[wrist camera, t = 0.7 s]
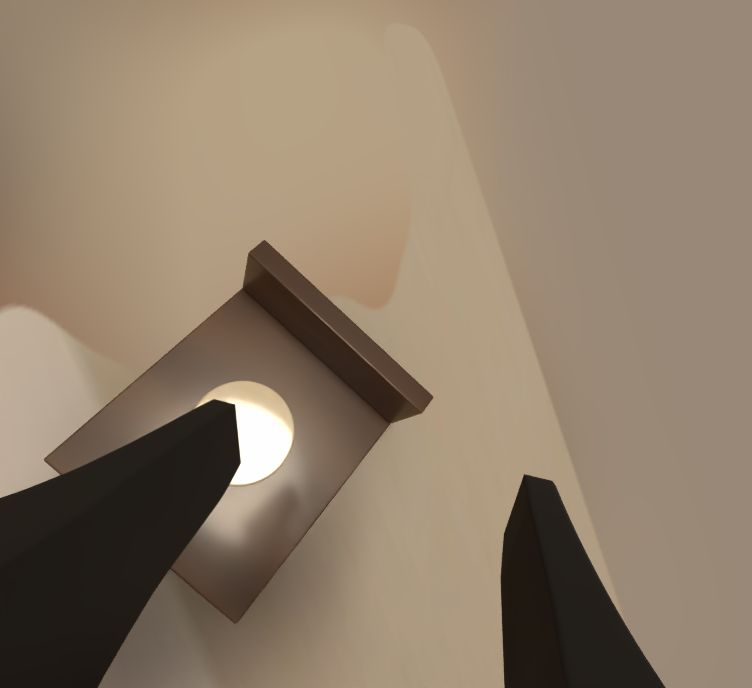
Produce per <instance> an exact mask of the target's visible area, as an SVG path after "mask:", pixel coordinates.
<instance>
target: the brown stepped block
mask: <svg viewBox="0 0 752 688" xmlns="http://www.w3.org/2000/svg"><path fill="white" fill-rule="evenodd" d="M233 381H252V382H257V383H260V384H263V385H265V386H268V387H269V388H271V389H273V390H274V391H275V392H276V393H278V394H279V395H280V396H281V397H282V398H283V399H284V401H285V402H286V404H287V405H288V407H289V409H290V411H291V414H292V416H293V420H294V427H295V435H294V442H293V446H292V449H291V451H290V454H289V456H288V457H287V459H286V461H285V462H284V464H283V465H282V466H281V467H280V468H279V469H278V470H277V471H276V472H275V473H274V474H273V475H271V476H270V477H268V478H267V479H265V480H263V481H261V482H259V483H256V484H253V485H249V486H241V487H234V486H228V488H227V490H226V491H225V493H224V495H223V497H222V498H221V500H220V501H219V503H218V504H217V505H216V507H215V508H214V510H213V511H212V512H211V514H210V515H209V516H208V518H207V519H206V521H205V522H204V523H203V525H202V526H201V527H200V529H199V530H198V532H197V533H196V534H195V536H194V537H193V538H192V540H191V541H190V542H189V544H188V545H187V546H186V548H185V549H184V550H183V552H182V553H181V555H180V556H179V557H178V559H177V560H176V561H175V563H174V564H173V565H172V567H171V568H170V569H171V570H172V571H174V572H175V573H176V574H177V575H178V576H179V577H181V578H182V579H183V580H184V581H185V582H186V583H188V584H189V585H190V586H191V587H192V588H193V589H195V590H196V591H197V592H198V593H199V594H200V595H202V596H203V597H204V598H205V599H206V600H207V601H209V602H210V603H211V604H212V605H213V606H214V607H216V608H217V609H218V610H219V611H220V612H221V613H223V614H224V615H225V616H226V617H227V618H228V619H230V620H231V621H232V622H233V623H234V624H236V623H238V621H239V620H240V619H241V617H242V616H243V615H244V613H245V612H246V611H247V610H248V608H249V607H250V606H251V604H252V603H253V602H254V600H255V599H256V598H257V597H258V595H259V594H260V593H261V591H262V590H263V589H264V587H265V586H266V585H267V584H268V582H269V581H270V580H271V578H272V577H273V576H274V574H275V573H276V572H277V570H278V569H279V568H280V567H281V565H282V564H283V563H284V561H285V560H286V559H287V557H288V556H289V555H290V554H291V552H292V551H293V550H294V548H295V547H296V546H297V544H298V543H299V542H300V541H301V539H302V538H303V537H304V535H305V534H306V533H307V531H308V530H309V529H310V528H311V526H312V525H313V524H314V522H315V521H316V520H317V518H318V517H319V516H320V515H321V513H322V512H323V511H324V509H325V508H326V507H327V505H328V504H329V503H330V502H331V500H332V499H333V498H334V496H335V495H336V494H337V492H338V491H339V490H340V489H341V487H342V486H343V485H344V483H345V482H346V481H347V479H348V478H349V477H350V475H351V474H352V473H353V472H354V470H355V469H356V468H357V466H358V465H359V464H360V462H361V461H362V460H363V459H364V457H365V456H366V455H367V453H368V452H369V451H370V449H371V448H372V447H373V446H374V444H375V443H376V442H377V440H378V439H379V438H380V436H381V435H382V434H383V433H384V431H385V430H386V429H387V427H388V426H389V425H390V423H394V422H397V421H400V420H403V419H406V418H409V417H412V416H415V415H418V414H421V413H422V412H423V411H424V410H425V408H426V407H427V406H428V404H429V403H430V402H431V400H432V399H433V396H432V395H431V394H430V393H429V392H428V391H427V390H426V389H424V388H423V387H422V386H421V385H420V384H419V383H418V382H417V381H416V380H415V379H414V378H413V377H412V376H411V375H409V374H408V373H407V372H406V371H405V370H404V369H403V368H402V367H401V366H400V365H399V364H398V363H397V362H395V361H394V360H393V359H392V358H391V357H390V356H389V355H388V354H387V353H386V352H385V351H384V350H383V349H381V348H380V347H379V346H378V345H377V344H376V343H375V342H374V341H373V340H372V339H371V338H370V337H369V336H368V335H366V334H365V333H364V332H363V331H362V330H361V329H360V328H359V327H358V326H357V325H356V324H355V323H354V322H352V321H351V320H350V319H349V318H348V317H347V316H346V315H345V314H344V313H343V312H342V311H341V310H340V309H338V308H337V307H336V306H335V305H334V304H333V303H332V302H331V301H330V300H329V299H328V298H327V297H325V296H324V295H323V294H322V293H321V292H320V291H319V290H318V289H317V288H316V287H315V286H314V285H313V284H312V283H311V282H309V281H308V280H307V279H306V278H305V277H304V276H303V275H302V274H301V273H300V272H298V270H296V269H295V268H294V267H293V266H292V265H291V264H290V263H289V262H288V261H287V260H286V259H284V257H283V256H281V255H280V254H279V253H278V252H277V251H276V250H275V249H274V248H273V247H272V246H271V245H270V244H269V243H267V242H266V241H265V240H264V241H262V242H261V243H260V244H259V245H257V246H256V247H255V248H254V249H253V250H251V251H250V252H249V254H248V259H247V265H246V271H245V277H244V282H243V288H242V289H241V290H240V291H239V292H238V293H236V294H235V295H234V296H233V297H232V298H230V299H229V300H228V301H227V302H226V303H225V304H224V305H222V306H221V307H220V308H219V309H218V310H217V311H215V312H214V313H213V314H212V315H211V316H210V317H208V318H207V319H206V320H205V321H204V322H203V323H201V324H200V325H199V326H198V327H197V328H196V329H195V330H193V331H192V332H191V333H190V334H189V335H187V337H185V338H184V339H183V340H182V341H181V342H179V343H178V344H177V345H176V346H175V347H174V348H172V349H171V350H170V351H169V352H168V353H167V354H165V355H164V356H163V357H162V358H161V359H160V360H159V361H158V362H156V363H155V364H154V365H153V366H151V367H150V368H149V369H148V370H147V371H146V372H144V373H143V374H142V375H141V376H140V377H139V378H138V379H136V380H135V381H134V382H133V383H132V384H131V385H129V386H128V387H127V388H126V389H125V390H124V391H122V392H121V393H120V394H119V395H118V396H117V397H115V398H114V399H113V400H112V401H111V402H110V403H108V404H107V405H106V406H105V407H104V408H103V409H101V410H100V411H99V412H98V413H97V414H96V415H95V416H93V417H92V418H91V419H90V420H89V421H88V422H86V423H85V424H84V425H83V426H82V427H81V428H79V429H78V430H77V431H76V432H75V433H74V434H72V435H71V436H70V437H69V438H68V439H67V440H65V441H64V442H63V443H62V444H61V445H60V446H58V447H57V448H56V449H55V450H54V451H53V452H52V453H50V454H49V455H48V456H47V457H46V458H45V459H44V461H45V462H46V463H47V464H49V465H50V466H51V467H52V468H53V469H54V470H56V471H57V472H58V473H59V474H60V475H62V474H65V473H67V472H69V471H72V470H74V469H76V468H79V467H81V466H83V465H85V464H87V463H89V462H91V461H94V460H96V459H98V458H100V457H102V456H104V455H106V454H108V453H110V452H112V451H114V450H116V449H119V448H121V447H123V446H125V445H127V444H129V443H131V442H133V441H135V440H137V439H139V438H141V437H142V436H144V435H146V434H148V433H150V432H152V431H154V430H156V429H158V428H160V427H161V426H163V425H165V424H167V423H169V422H171V421H173V420H175V419H176V418H178V417H180V416H182V415H184V414H186V413H188V412H190V411H191V410H193V409H194V407H195V406H196V404H197V403H198V402H199V401H200V399H201V398H202V397H203V396H204V395H206V394H207V393H208V392H209V391H211V390H213V389H214V388H216V387H218V386H220V385H223V384H225V383H229V382H233Z"/></svg>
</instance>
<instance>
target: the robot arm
mask: <svg viewBox="0 0 752 688" xmlns="http://www.w3.org/2000/svg"><path fill="white" fill-rule="evenodd" d="M240 464H241V457H240V447H239V437H238V427H237V417H236V406H235V404H232V403H228V402H224V401H220V400H216V399H213V400H211V401H209V402H207V403H205V404H203V405H201V406H199V407H197V408H195V409H193V410H191V411H190V412H188V413H186V414H184V415H182V416H180V417H178V418H176V419H175V420H173V421H171V422H169V423H167V424H165V425H163V426H161V427H160V428H158V429H156V430H154V431H152V432H150V433H148V434H146V435H144V436H142V437H141V438H139V439H137V440H135V441H133V442H131V443H129V444H127V445H125V446H123V447H121V448H119V449H116V450H114V451H112V452H110V453H108V454H106V455H104V456H102V457H100V458H98V459H96V460H94V461H91V462H89V463H87V464H85V465H83V466H81V467H79V468H76V469H74V470H72V471H69V472H67V473H65V474H62V475H60V476H58V477H55V478H53V479H50V480H48V481H45V482H43V483H40V484H38V485H35V486H33V487H30V488H28V489H25V490H22V491H20V492H17V493H14V494H11V495H8V496H5V497H2V498H0V688H98V686H99V684H100V682H101V680H102V679H103V677H104V675H105V673H106V672H107V670H108V668H109V666H110V665H111V663H112V661H113V659H114V658H115V656H116V654H117V652H118V651H119V649H120V647H121V646H122V644H123V642H124V640H125V639H126V637H127V635H128V633H129V632H130V630H131V628H132V627H133V625H134V624H135V622H136V620H137V619H138V617H139V615H140V614H141V612H142V610H143V609H144V607H145V605H146V604H147V602H148V600H149V599H150V597H151V595H152V594H153V592H154V591H155V589H156V588H157V587H158V585H159V584H160V582H161V581H162V579H163V578H164V576H165V575H166V574H167V572H168V571H169V569H170V568H171V567H172V565H173V564H174V563H175V561H176V560H177V559H178V557H179V556H180V555H181V553H182V552H183V550H184V549H185V548H186V546H187V545H188V544H189V542H190V541H191V540H192V538H193V537H194V536H195V534H196V533H197V532H198V530H199V529H200V527H201V526H202V525H203V523H204V522H205V521H206V519H207V518H208V516H209V515H210V514H211V512H212V511H213V510H214V508H215V507H216V505H217V504H218V503H219V501H220V500H221V498H222V497H223V495H224V493H225V491H226V490H227V488H228V486H229V485H230V483H231V481H232V479H233V477H234V475H235V474H236V472H237V470H238V468H239V466H240ZM501 603H502V631H503V658H504V684H505V688H665V686H664V685H663V683H662V682H661V680H660V678H659V677H658V675H657V674H656V672H655V671H654V670H653V668H652V667H651V665H650V663H649V662H648V660H647V659H646V657H645V656H644V654H643V652H642V651H641V649H640V648H639V646H638V645H637V643H636V641H635V640H634V638H633V636H632V635H631V633H630V631H629V630H628V628H627V626H626V625H625V623H624V621H623V619H622V618H621V616H620V614H619V613H618V611H617V609H616V607H615V606H614V604H613V602H612V601H611V599H610V597H609V595H608V593H607V591H606V590H605V588H604V586H603V584H602V582H601V580H600V579H599V577H598V575H597V573H596V571H595V569H594V567H593V565H592V563H591V561H590V559H589V557H588V555H587V554H586V552H585V550H584V547H583V545H582V543H581V541H580V539H579V537H578V535H577V533H576V531H575V529H574V527H573V524H572V522H571V520H570V518H569V516H568V513H567V511H566V509H565V507H564V504H563V502H562V500H561V497H560V495H559V493H558V490H557V488H556V486H555V484H554V483H553V481H550V480H546V479H541V478H537V477H533V476H529V475H525V474H524V476H523V479H522V482H521V485H520V488H519V491H518V494H517V497H516V500H515V503H514V506H513V509H512V512H511V515H510V518H509V521H508V524H507V527H506V529H505V532H504V541H503V553H502V567H501Z"/></svg>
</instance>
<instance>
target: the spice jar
mask: <svg viewBox="0 0 752 688" xmlns="http://www.w3.org/2000/svg"><path fill="white" fill-rule="evenodd" d="M213 399H216V400H220V401H224V402H228V403H232V404H235V406H236V417H237V427H238V437H239V447H240V457H241V464H240V466H239V468H238V470H237V472H236V474H235V475H234V477H233V479H232V481H231V483H230V485H229V486H234V487H241V486H249V485H253V484H256V483H259V482H261V481H263V480H265V479H267V478H268V477H270V476H271V475H273V474H274V473H275V472H276V471H277V470H278V469H279V468H280V467H281V466H282V465H283V464H284V462H285V461H286V459H287V457H288V456H289V454H290V451H291V449H292V446H293V442H294V435H295V427H294V420H293V416H292V414H291V411H290V409H289V407H288V405H287V404H286V402H285V401H284V399H283V398H282V397H281V396H280V395H279V394H278V393H276V392H275V391H274V390H273V389H271V388H269V387H268V386H265V385H263V384H260V383H257V382H252V381H233V382H229V383H225V384H223V385H220V386H218V387H216V388H214V389H213V390H211V391H209V392H208V393H207V394H206V395H204V396H203V397H202V398H201V399H200V401H199V402H198V403H197V404H196V406H195V407H194V409H195V408H197V407H199V406H201V405H203V404H205V403H207V402H209V401H211V400H213Z"/></svg>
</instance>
